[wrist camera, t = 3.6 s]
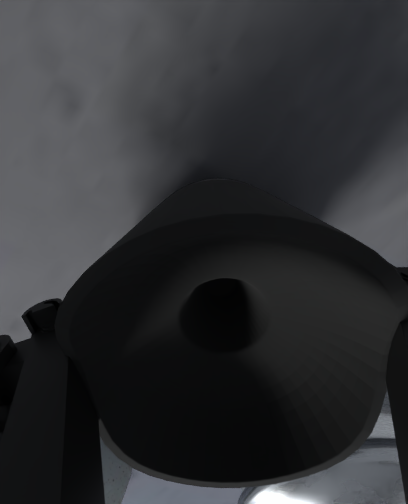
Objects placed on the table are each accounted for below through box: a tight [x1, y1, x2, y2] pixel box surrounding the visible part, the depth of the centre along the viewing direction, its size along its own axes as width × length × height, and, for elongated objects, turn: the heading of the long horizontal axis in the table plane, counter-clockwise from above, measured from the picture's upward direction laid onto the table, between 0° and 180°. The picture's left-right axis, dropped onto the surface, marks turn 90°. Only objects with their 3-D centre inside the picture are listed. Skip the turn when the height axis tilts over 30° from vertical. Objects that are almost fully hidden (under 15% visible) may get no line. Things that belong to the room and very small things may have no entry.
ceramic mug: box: [100, 437, 132, 504], centre depth 19 cm, size 11×8×8 cm
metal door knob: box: [238, 391, 406, 504], centre depth 18 cm, size 18×16×7 cm
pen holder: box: [54, 179, 408, 488], centre depth 11 cm, size 9×9×10 cm
